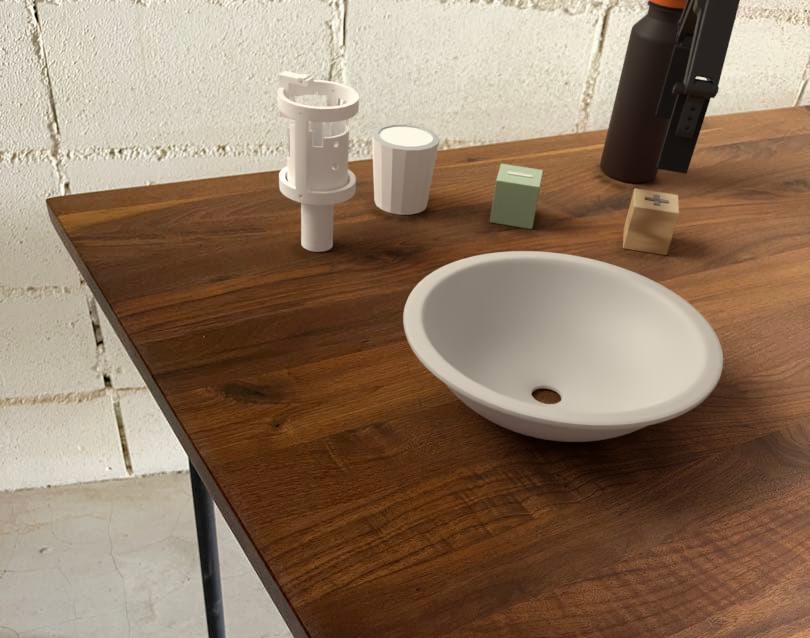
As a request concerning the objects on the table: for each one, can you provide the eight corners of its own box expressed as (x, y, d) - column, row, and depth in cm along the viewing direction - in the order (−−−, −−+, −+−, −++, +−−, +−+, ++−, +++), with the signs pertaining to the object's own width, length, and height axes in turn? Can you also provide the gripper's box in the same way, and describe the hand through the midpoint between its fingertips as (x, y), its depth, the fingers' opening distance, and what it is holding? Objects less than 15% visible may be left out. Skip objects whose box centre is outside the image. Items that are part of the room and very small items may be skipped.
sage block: (535, 211, 95) (543, 169, 92) (532, 229, 92) (540, 186, 89) (494, 204, 96) (501, 162, 93) (489, 222, 93) (496, 179, 89)
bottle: (602, 181, 103) (650, -17, 88) (595, 157, 107) (639, -34, 93) (660, 186, 103) (716, -10, 89) (651, 163, 108) (703, -27, 94)
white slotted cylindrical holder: (300, 221, 89) (299, 60, 79) (364, 238, 88) (372, 76, 77) (267, 250, 85) (262, 82, 74) (334, 268, 83) (338, 100, 73)
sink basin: (552, 294, 83) (567, 227, 78) (758, 431, 70) (790, 360, 65) (338, 366, 72) (340, 293, 67) (536, 544, 59) (555, 469, 54)
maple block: (665, 236, 94) (678, 194, 90) (666, 255, 90) (680, 212, 87) (623, 229, 94) (634, 187, 91) (622, 248, 91) (634, 205, 88)
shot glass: (433, 219, 92) (440, 151, 87) (367, 215, 92) (371, 146, 87) (431, 191, 97) (438, 125, 92) (369, 186, 97) (372, 120, 92)
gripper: (696, -157, 79) (632, 93, 94) (711, -111, 62) (629, 187, 77) (781, -146, 79) (703, 104, 94) (820, -96, 61) (716, 202, 76)
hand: (670, 142), depth 85 cm, fingers open, 13 cm apart
